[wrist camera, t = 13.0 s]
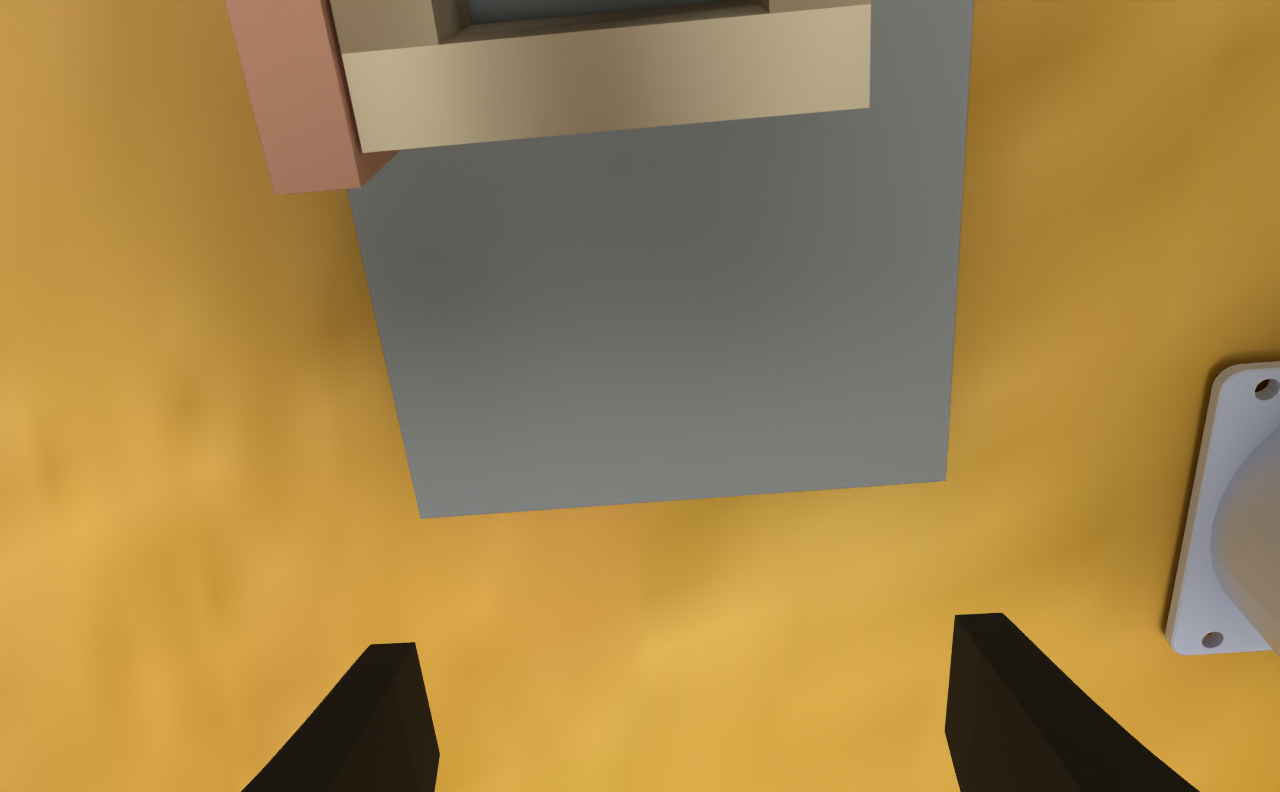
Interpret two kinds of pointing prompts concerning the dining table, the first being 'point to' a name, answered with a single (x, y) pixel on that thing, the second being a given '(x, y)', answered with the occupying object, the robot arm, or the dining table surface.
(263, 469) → the dining table surface
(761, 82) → the wooden square ring
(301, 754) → the robot arm
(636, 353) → the board
